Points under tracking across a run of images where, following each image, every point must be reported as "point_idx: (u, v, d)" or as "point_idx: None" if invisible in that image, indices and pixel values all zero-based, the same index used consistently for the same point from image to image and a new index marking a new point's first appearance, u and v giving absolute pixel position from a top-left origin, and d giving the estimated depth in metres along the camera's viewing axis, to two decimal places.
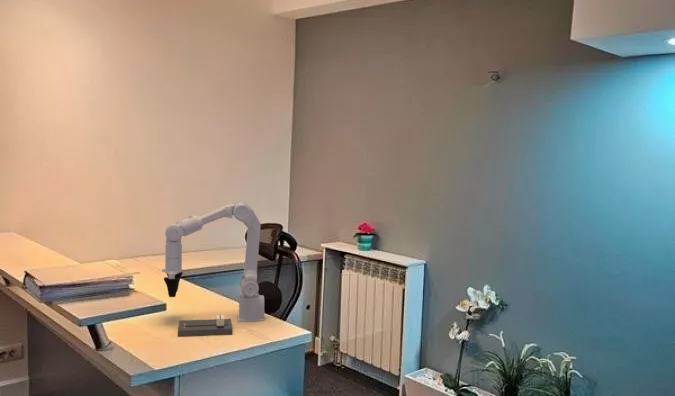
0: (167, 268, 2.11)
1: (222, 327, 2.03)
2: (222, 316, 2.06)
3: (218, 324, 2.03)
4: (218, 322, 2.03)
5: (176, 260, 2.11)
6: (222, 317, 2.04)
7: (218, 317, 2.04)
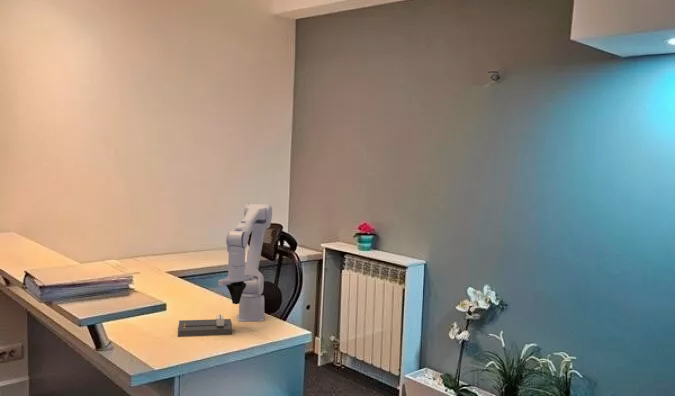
0: (228, 275, 2.05)
1: (222, 327, 2.03)
2: (222, 316, 2.06)
3: (218, 324, 2.03)
4: (218, 322, 2.03)
5: (233, 268, 2.02)
6: (222, 317, 2.04)
7: (218, 317, 2.04)
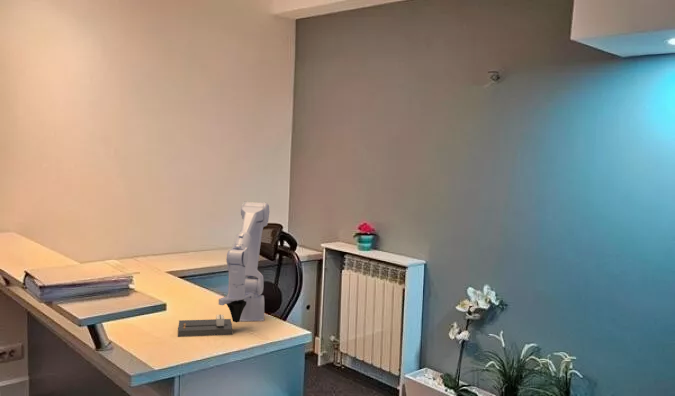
0: (228, 293, 2.05)
1: (222, 327, 2.03)
2: (222, 316, 2.06)
3: (218, 324, 2.03)
4: (218, 322, 2.03)
5: (233, 287, 2.03)
6: (222, 317, 2.04)
7: (218, 317, 2.04)
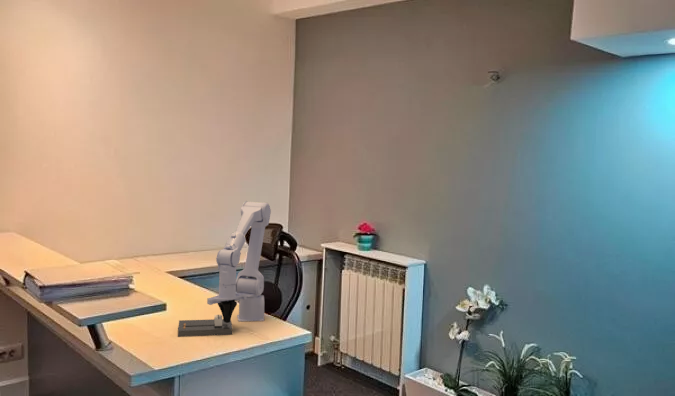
0: None
1: (222, 327, 2.03)
2: (220, 316, 2.05)
3: (216, 324, 2.03)
4: (216, 322, 2.03)
5: (222, 287, 2.02)
6: (220, 317, 2.04)
7: (216, 317, 2.04)
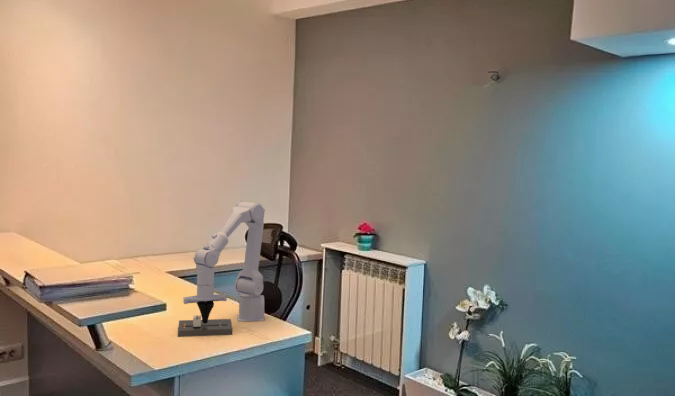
0: None
1: (222, 327, 2.03)
2: (199, 317, 2.04)
3: (195, 325, 2.01)
4: (195, 323, 2.01)
5: (198, 287, 2.01)
6: (199, 318, 2.03)
7: (195, 318, 2.02)
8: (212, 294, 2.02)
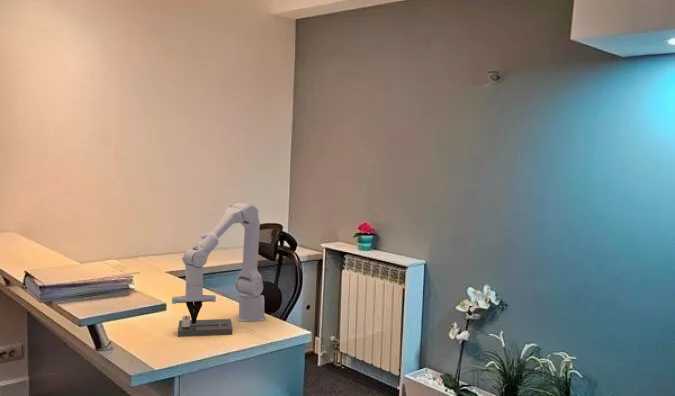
0: None
1: (222, 327, 2.03)
2: (188, 317, 2.03)
3: (184, 325, 2.00)
4: (183, 323, 2.00)
5: (186, 287, 2.00)
6: (188, 318, 2.02)
7: (184, 318, 2.02)
8: (200, 294, 2.01)
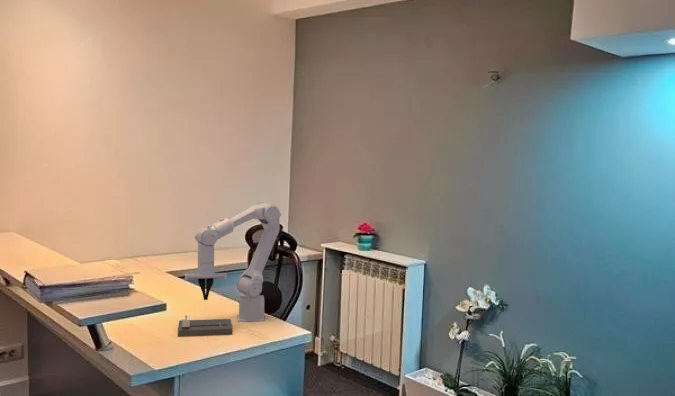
0: None
1: (222, 327, 2.03)
2: (188, 317, 2.03)
3: (183, 325, 2.00)
4: (183, 323, 2.00)
5: (198, 264, 2.08)
6: (188, 318, 2.02)
7: (184, 318, 2.02)
8: (211, 272, 2.09)
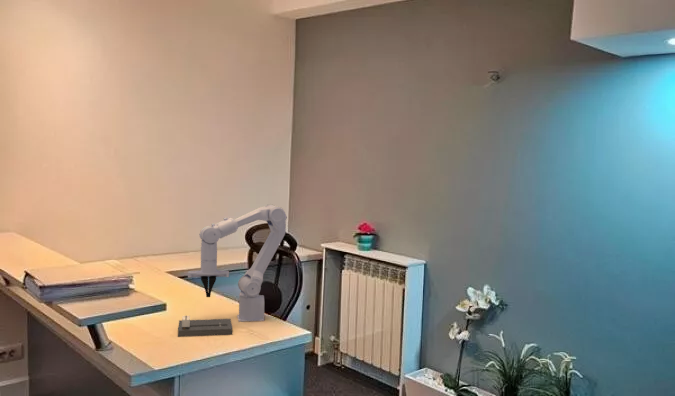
0: None
1: (222, 327, 2.03)
2: (188, 317, 2.03)
3: (183, 325, 2.00)
4: (183, 323, 2.00)
5: (201, 262, 2.12)
6: (188, 318, 2.02)
7: (184, 318, 2.02)
8: (214, 269, 2.12)
